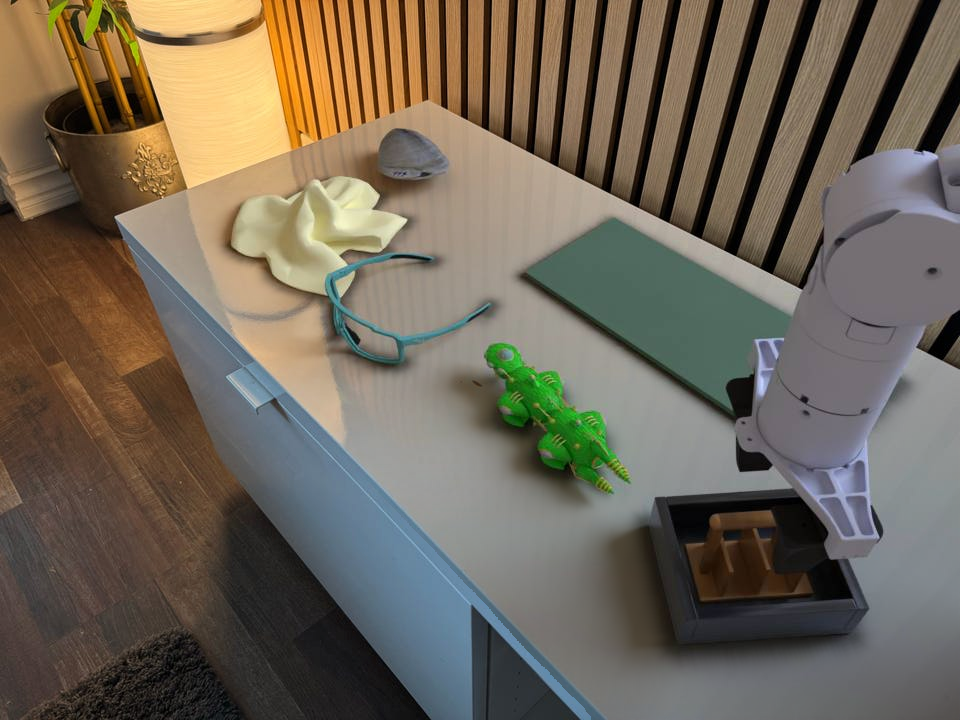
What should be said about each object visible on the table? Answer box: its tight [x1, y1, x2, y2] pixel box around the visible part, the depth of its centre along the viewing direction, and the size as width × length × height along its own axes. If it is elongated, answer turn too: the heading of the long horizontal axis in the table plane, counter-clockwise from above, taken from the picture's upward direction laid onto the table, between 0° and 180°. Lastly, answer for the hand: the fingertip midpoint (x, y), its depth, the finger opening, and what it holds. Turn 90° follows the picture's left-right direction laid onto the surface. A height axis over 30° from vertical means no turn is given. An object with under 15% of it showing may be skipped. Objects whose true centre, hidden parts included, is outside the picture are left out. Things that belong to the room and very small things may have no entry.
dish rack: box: [684, 510, 813, 603], centre depth 52 cm, size 8×4×8 cm, turn 93°
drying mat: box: [524, 216, 902, 417], centre depth 74 cm, size 34×14×1 cm, turn 41°
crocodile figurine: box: [483, 342, 632, 495], centre depth 64 cm, size 7×18×4 cm, turn 34°
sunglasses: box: [325, 252, 492, 365], centre depth 75 cm, size 14×15×5 cm
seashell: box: [376, 127, 451, 181], centre depth 93 cm, size 12×8×5 cm
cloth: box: [230, 175, 408, 299], centre depth 84 cm, size 22×19×6 cm
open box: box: [648, 487, 870, 646], centre depth 54 cm, size 12×10×4 cm
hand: (770, 515), depth 50 cm, fingers open, 7 cm apart
